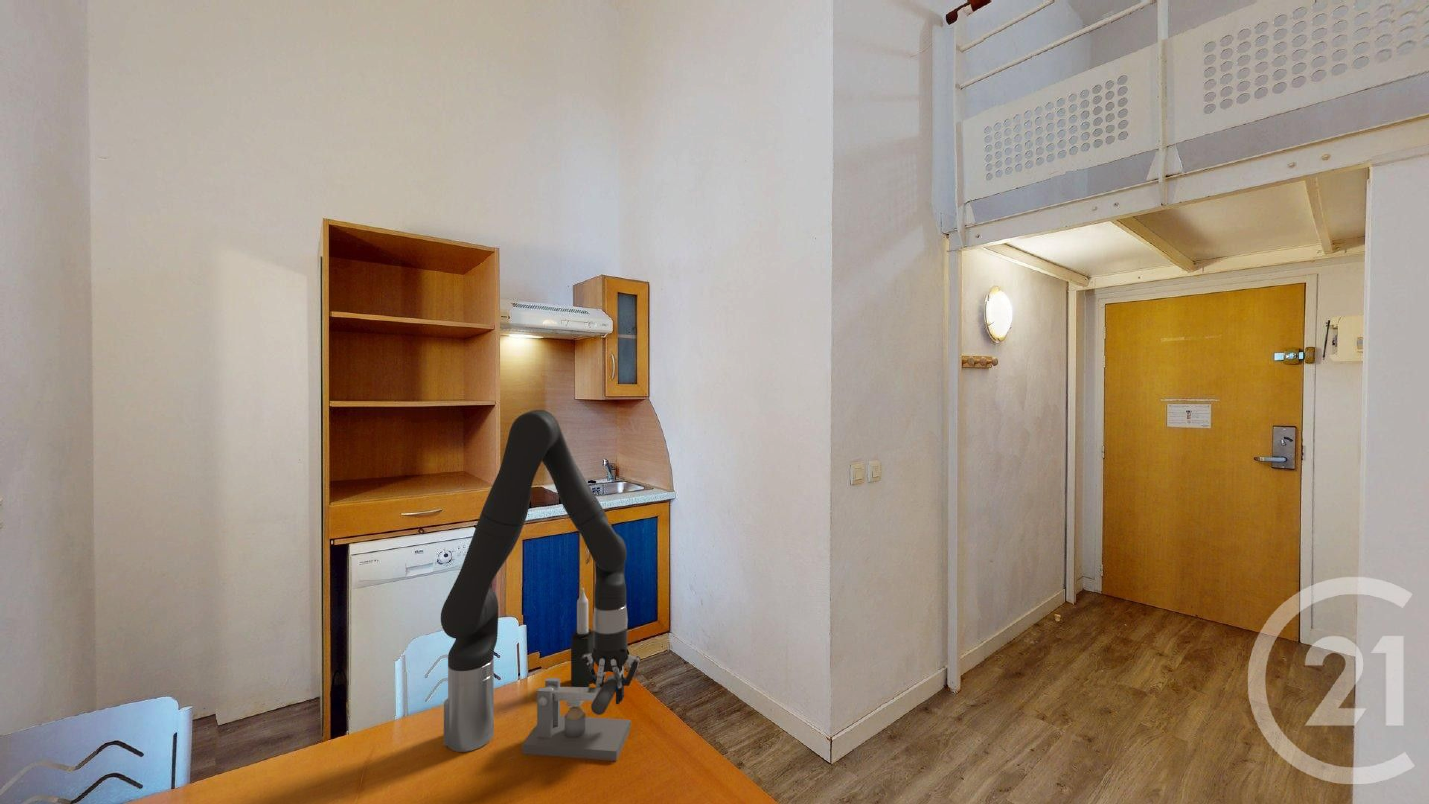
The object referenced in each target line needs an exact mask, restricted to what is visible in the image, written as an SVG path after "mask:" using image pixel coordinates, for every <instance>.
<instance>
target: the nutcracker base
mask: <svg viewBox="0 0 1429 804" xmlns="http://www.w3.org/2000/svg"><path fill="white" fill-rule="evenodd" d="M548 685H554V686H555V687H561V678H558V677H557V678H556V677H547V678H546V679H545V681H544V687H539V688H538V689H537V690H536V725H535V726H534V728H533V729H532V731H530V733H529V734H528V736H527V738H526V739H525V740H524V741H523V742H522V744H521V747H522V748H521V750H522V751H521V753H522V754H523V755H534V756H548V757H557V758H559V757H560V758H562V757H563V758H574V759H584V760H585V759H588V760H602V761H611V762H612V761H614V762H617V760H618V759H619V757H620V754H621V752H622V749H623V748H624V745H625V742H626V740H627V738H628V736H629V733H630V731H631V729H632V728H631V727H632V726H631V723H632V722H631V721H632V720H631V719H623V718H622V719H619V718H605V717H604V718H603V717H593V716H592V717H589V716H586V712H585V711H584V710H583V708H582V707H581V706H570V708H569V709H568V711H567V712H566V713H565V715H561V701H556V700H553V688H546V686H548Z"/></svg>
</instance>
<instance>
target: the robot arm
mask: <svg viewBox="0 0 1429 804" xmlns="http://www.w3.org/2000/svg"><path fill="white" fill-rule="evenodd" d="M508 432H509V433H508V437H507V442H506V445H505V448H504V452H503V453H504V454H503V457H502V459H501V464H500V467H499V470H498V472H497V475H496V477H495V480H494V481H493V483H492V486H491V487H490V488H491V489H489V492H488V494H487V497H486V499H485V502H484V505H483V507H482V510H481V513H480V515H479V518H478V520H477V523H476V526H475V529H474V532H473V535H472V538H471V540H470V543H469V546H468V548H467V552H466V554H465V557H464V559H463V562H462V565H461V568H460V570H459V572H458V575H457V577H456V579H455V581H454V583H453V585H452V587H451V589H450V591H449V593H448V595H447V597H446V599H445V601H444V603H443V605H442V609H441V612H440V625H441V628H442V630H443V632H444V633H445V634H446V635H447V636H448V637H449V638H451V639H455V640H454V642H453V644H452V646H451V647H450V649H449V651H448V655H447V698H446V699H445V700H444V701H443V746H445V747H448V748H449V749H450V750H452V751H454V752H457V753H458V752H460V753H462V752H463V753H464V752H471V751H474V750H477V749H479V748H482V747H484V746H485V745H487V744H488V743H489V742H490V741H492V739H493V737H494V732H495V731H494V729H495V728H494V727H495V721H494V719H495V718H494V717H495V716H494V715H495V711H494V710H495V709H494V707H495V706H494V704H495V703H494V701H495V700H494V699H495V698H494V697H495V696H494V695H495V694H494V691H495V690H494V689H495V687H494V685H495V684H494V683H495V682H494V679H495V678H494V677H495V673H494V672H495V671H494V669H495V666H494V665H495V664H494V663H495V662H494V661H495V660H494V659H495V657H494V653H495V648H496V645H497V642H498V637H499V636H498V635H499V632H498V631H499V601H498V597H497V594H496V592H495V591H494V590H493V588H491V585H492V583H493V580H494V579H495V577H496V576H497V574H498V573H499V571H500V569H501V568H502V567H503V565H504V564H505V563H506V561H507V559H508V558H509V556H510V554H511V553H512V552H513V550H514V548H515V546H516V544H517V543H518V541H519V538H520V536H521V533H522V531H523V528H524V525H525V522H526V520H527V516H528V513H529V509H530V502H531V495H532V488H533V482H534V480H535V477H536V475H537V472H538V470H539V467H540V466H541V463H542V464H543V465H544V466H545V468H546V470H547V471H548V473H549V475H550V477H551V479H552V482H553V484H554V487H555V490H556V493H557V495H558V498H559V500H560V502H561V505H562V507H563V509H564V510H565V512H566V513H567V515H568V517H569V519H570V520H571V522H572V524H573V525H574V527H575V528H576V530H577V531H578V532H579V534H580V536H581V537H582V539H583V542H584V544H585V545H586V548H587V550H588V553H590V556H591V558H592V560H593V561H594V565H595V566H594V568H595V581H594V595H593V596H594V597H593V598H594V600H593V601H594V602H593V603H594V604H593V605H594V607H593V617H592V618H593V620H592V622H593V623H592V624H593V625H592V628H593V629H592V631H593V651H592V653H590V654H587V653H586V654H584V656H583V657H582V658H581V660H580V662H581V665H582V667H583V670H584V672H585V675H586V678H587V680H588V682H589V683H590V685H591V684H593V685H595V687H602V686H603V684H604V683H605V680H606V674H607V673H608V672H610V673H613V676H614V678H615V680H616V685H617V687H616V692H615V705H620V704H621V702H623V699H624V697H625V687H629V686H630V685H631V682H632V681H633V679H634V676H635V674H636V671H637V670H638V666H639V664H640V662H641V657H640V656H639V655H636V656H633V655H631V653H630V651H629V649H628V623H629V619H628V609H627V585H626V579H625V572H626V571H625V569H626V568H625V566H626V561H627V554H628V553H627V552H628V551H627V548H626V547H627V546H626V543H625V540H624V539H623V537H622V536H620V535H619V534H617V533H616V531H615V530H614V528H613V526H612V525H611V524H610V522H609V519H608V516H607V514H606V511H605V509H604V508H603V506H602V505H601V503H600V502H599V500H598V498H597V497H596V495H595V492H594V491H593V490H592V488H591V486H589V484H588V482H587V480H586V479H585V477H584V476H583V473H582V472H581V470H580V468H579V466H578V465H577V463H576V461H575V459H574V457H573V455H572V454H571V451H570V449H569V447H568V445H567V441H566V440H565V439H566V438H565V437H564V435H563V432H562V429H561V427H560V424H559V422H558V420H557V418H556V416H554V415H553V414H552V413H551V412H549V411H547V410H543V409H533V410H531V411H526V412H525V413H522V414H521V415H518V416H517V418H516V419H514V421H513V423H512V424H511V427H510V429H509V431H508ZM592 659H593V660H594V664H596V666H597V668H598V670H597V673H596V670H595V666H594V667H593V664H592V662H593V660H592ZM626 662H628V666H629V671H628V674H627V675H626V676H625V674H624V672H625V670H624V665H625V664H626Z"/></svg>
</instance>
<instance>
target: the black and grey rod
mask: <svg viewBox="0 0 1429 804" xmlns="http://www.w3.org/2000/svg"><path fill="white" fill-rule="evenodd" d="M580 591H581V592H580V594H579V595H580V596H579V598H578V599H577V600H576V601H577V602H576V630H575V631H573V634H572V635H571V636H570V687H590V685H591V684H590V683H589V682H588V680H587V678H586V675H585V672H584V670H583V667H582V665H581V662H580V660H581V658H582V657H583V656H584V654H586V653H587V654H590V653H592V651H593V630H592V629H590V628H589V599H588V598H587V596H586V593H585V588H584V587H581V589H580ZM592 660H593V659H592ZM592 664H593V667H594V668H595V662H594V660H593V662H592Z"/></svg>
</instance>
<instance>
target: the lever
mask: <svg viewBox="0 0 1429 804" xmlns="http://www.w3.org/2000/svg"><path fill="white" fill-rule="evenodd" d="M604 682H605V683H604V684H603V686H602V687H596V686H594V687H593V686H592V687H590V686H589V687H573V686H560V687H555V686H554V685H548V686H546V688H553V700H556V701H560V702H561V701H563V702H565V701H566V706H567V707H573V706H579V707H581V706H582V704H583V703H584V702H591V706H590V710H591V711H592V713H594V714H595V715H596V716H601V715H603V714H604V713H605V712H606V711H607V709H608V706H609V705H610V703H611V702H612V699H613V697H615V695H616V687H617V685H616V680H615V678H614V674H613V675H608V676H607V677H606V678H605V680H604Z"/></svg>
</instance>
